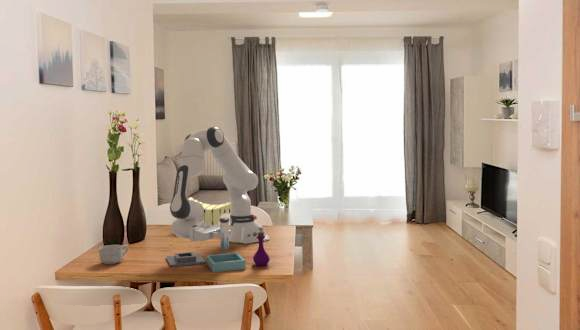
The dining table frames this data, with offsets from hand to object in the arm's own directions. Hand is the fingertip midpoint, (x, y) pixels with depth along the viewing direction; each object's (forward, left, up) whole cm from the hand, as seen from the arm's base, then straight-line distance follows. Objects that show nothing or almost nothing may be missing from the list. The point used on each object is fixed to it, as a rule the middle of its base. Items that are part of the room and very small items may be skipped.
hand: (226, 233), depth 271 cm
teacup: (+48, -27, -16) cm, 57 cm away
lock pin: (+1, -1, -7) cm, 7 cm away
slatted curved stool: (-11, -84, -16) cm, 86 cm away
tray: (0, -1, -15) cm, 15 cm away
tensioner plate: (+16, -17, -15) cm, 28 cm away
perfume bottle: (-16, +3, -16) cm, 22 cm away
